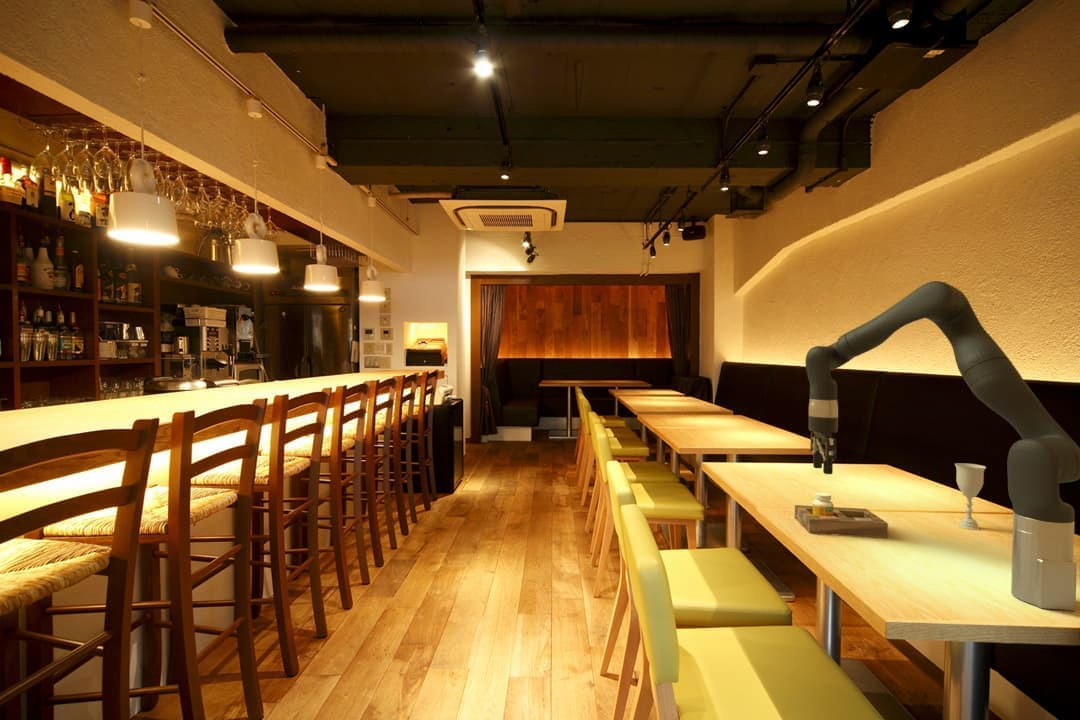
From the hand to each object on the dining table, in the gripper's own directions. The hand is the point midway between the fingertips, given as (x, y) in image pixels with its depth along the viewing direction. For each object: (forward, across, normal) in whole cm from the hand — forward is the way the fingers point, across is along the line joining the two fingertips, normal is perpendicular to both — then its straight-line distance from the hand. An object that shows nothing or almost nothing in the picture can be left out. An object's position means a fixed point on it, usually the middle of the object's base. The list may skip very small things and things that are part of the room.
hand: (822, 470), depth 157 cm
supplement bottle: (+16, 0, 0) cm, 16 cm away
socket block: (+16, 0, -4) cm, 17 cm away
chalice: (+16, +8, -43) cm, 46 cm away
